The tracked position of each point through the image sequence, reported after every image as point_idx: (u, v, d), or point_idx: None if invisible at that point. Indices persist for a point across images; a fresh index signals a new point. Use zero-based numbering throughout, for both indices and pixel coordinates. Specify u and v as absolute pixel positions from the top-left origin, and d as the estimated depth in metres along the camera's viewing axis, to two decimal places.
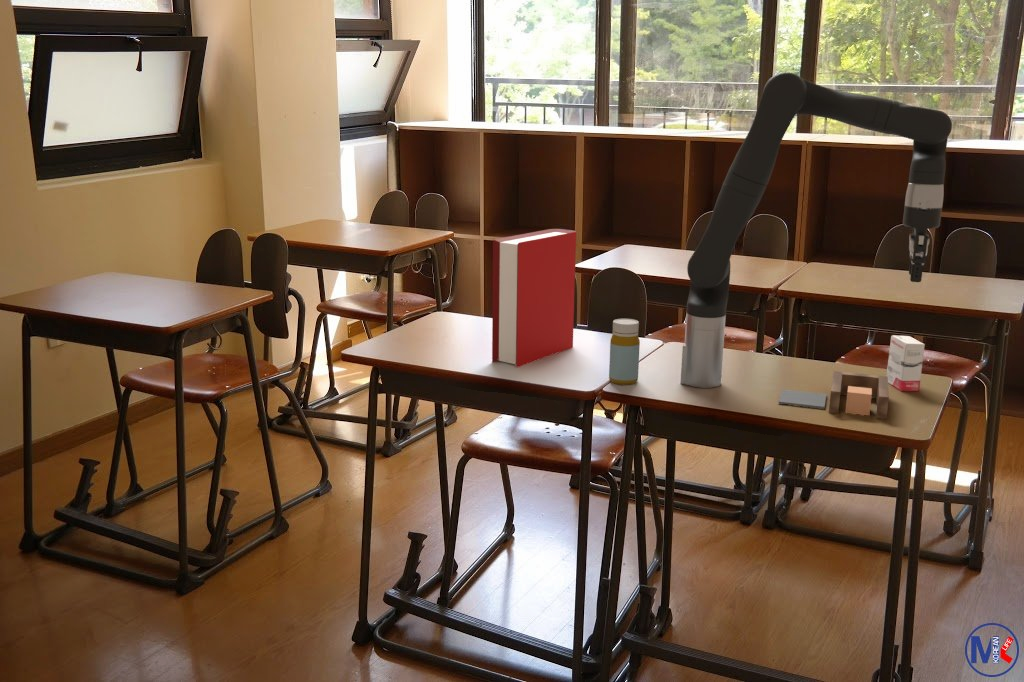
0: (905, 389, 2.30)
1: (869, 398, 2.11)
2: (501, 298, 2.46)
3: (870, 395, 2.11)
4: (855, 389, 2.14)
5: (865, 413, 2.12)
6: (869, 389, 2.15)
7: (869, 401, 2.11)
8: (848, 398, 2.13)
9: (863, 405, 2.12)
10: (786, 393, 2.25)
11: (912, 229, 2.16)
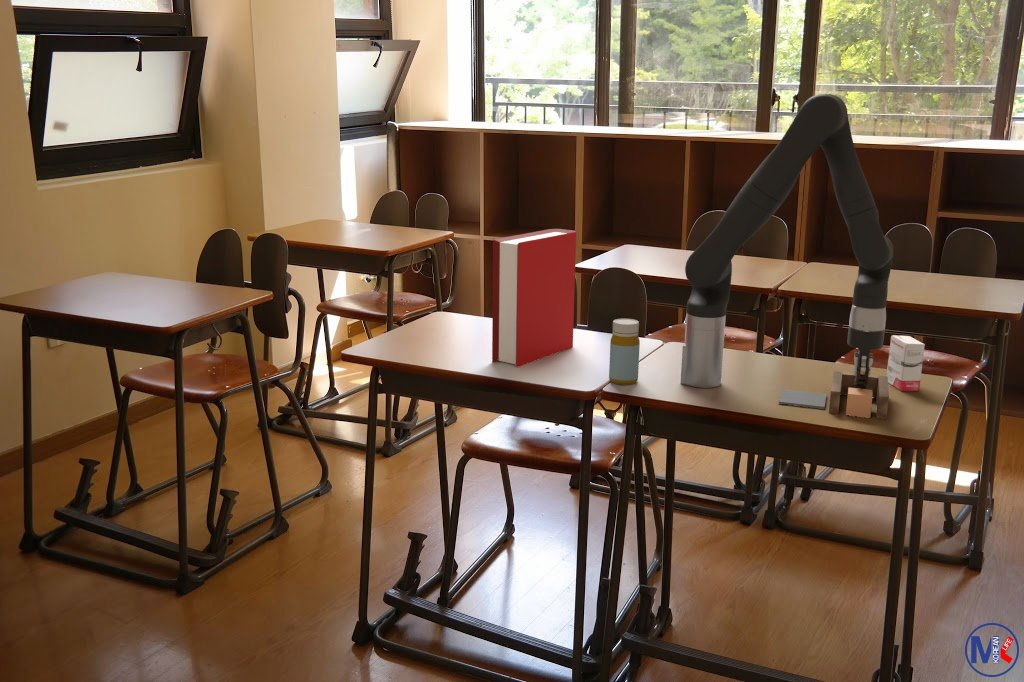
0: (905, 389, 2.30)
1: (870, 400, 2.10)
2: (501, 298, 2.46)
3: (871, 397, 2.09)
4: (856, 391, 2.13)
5: (865, 414, 2.11)
6: (870, 391, 2.13)
7: (870, 403, 2.10)
8: (849, 400, 2.11)
9: (863, 407, 2.10)
10: (786, 393, 2.25)
11: None
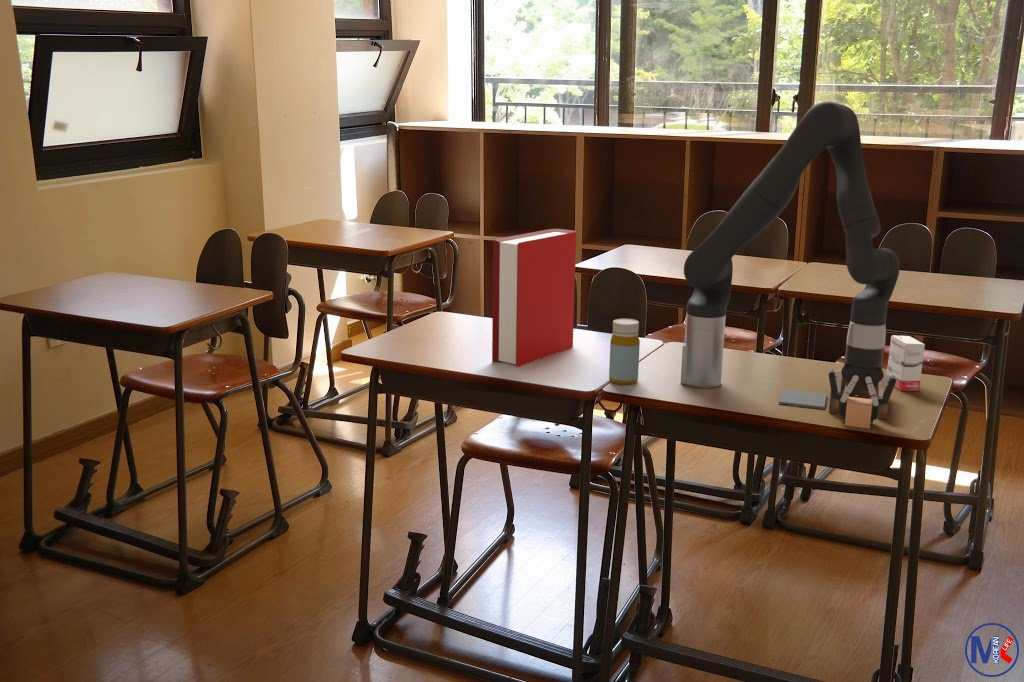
0: (905, 389, 2.30)
1: (869, 409, 2.03)
2: (501, 298, 2.46)
3: (870, 406, 2.03)
4: (855, 400, 2.06)
5: (865, 425, 2.04)
6: (869, 400, 2.07)
7: (869, 413, 2.03)
8: (847, 409, 2.05)
9: (863, 417, 2.04)
10: (786, 393, 2.25)
11: None
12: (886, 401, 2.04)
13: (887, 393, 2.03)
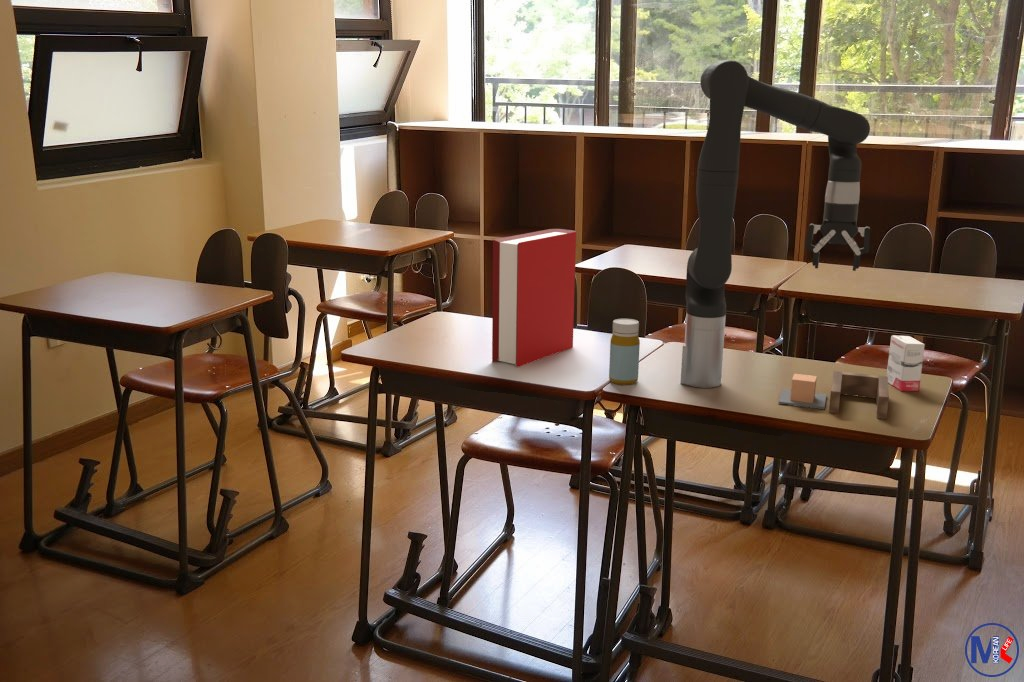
0: (905, 389, 2.30)
1: (812, 385, 2.18)
2: (501, 298, 2.46)
3: (813, 382, 2.17)
4: (800, 377, 2.21)
5: (809, 399, 2.19)
6: (814, 377, 2.21)
7: (812, 388, 2.18)
8: (792, 385, 2.19)
9: (807, 392, 2.18)
10: (786, 393, 2.25)
11: None
12: (867, 250, 2.25)
13: (865, 242, 2.25)
